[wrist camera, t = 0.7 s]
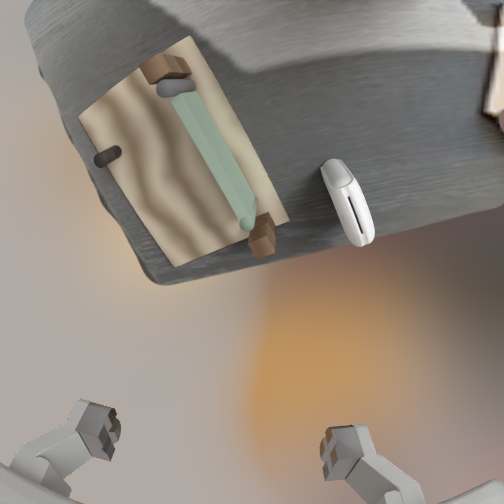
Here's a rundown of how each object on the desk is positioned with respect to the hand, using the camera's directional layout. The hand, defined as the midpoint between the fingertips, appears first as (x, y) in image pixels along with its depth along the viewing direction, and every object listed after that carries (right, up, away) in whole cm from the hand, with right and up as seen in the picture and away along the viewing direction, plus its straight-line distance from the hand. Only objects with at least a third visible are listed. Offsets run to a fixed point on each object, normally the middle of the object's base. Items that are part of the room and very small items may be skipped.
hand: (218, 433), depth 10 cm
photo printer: (+16, +17, +37) cm, 44 cm away
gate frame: (-11, +21, +37) cm, 44 cm away
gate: (-4, +23, +34) cm, 41 cm away
